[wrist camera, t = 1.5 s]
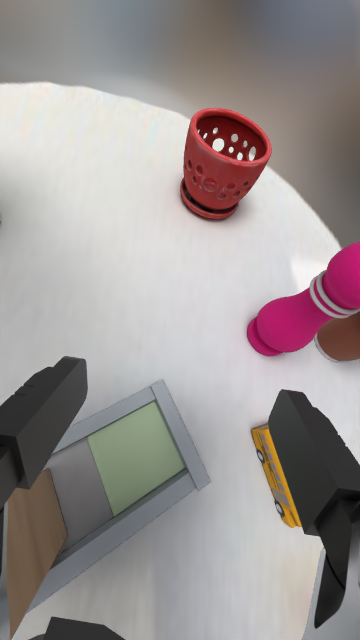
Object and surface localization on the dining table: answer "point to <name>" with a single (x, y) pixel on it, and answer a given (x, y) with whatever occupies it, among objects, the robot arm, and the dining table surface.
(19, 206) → the dining table surface
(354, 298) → the pepper mill
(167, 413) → the trap channel
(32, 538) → the walnut block
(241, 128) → the plant pot
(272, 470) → the toy bus
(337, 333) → the coffee cup
